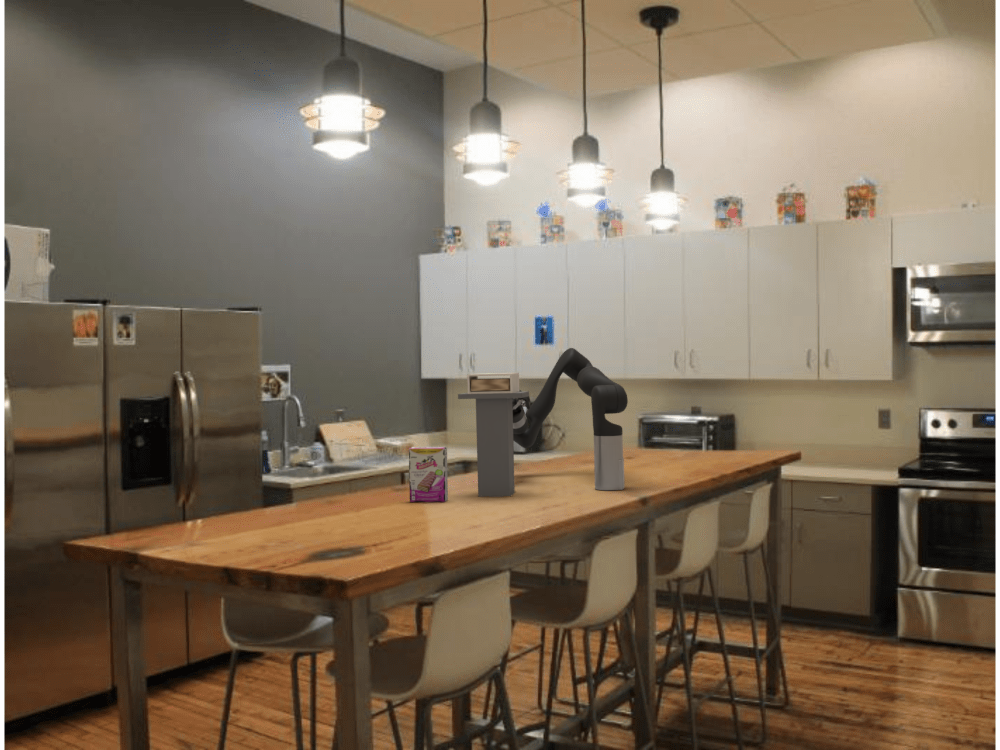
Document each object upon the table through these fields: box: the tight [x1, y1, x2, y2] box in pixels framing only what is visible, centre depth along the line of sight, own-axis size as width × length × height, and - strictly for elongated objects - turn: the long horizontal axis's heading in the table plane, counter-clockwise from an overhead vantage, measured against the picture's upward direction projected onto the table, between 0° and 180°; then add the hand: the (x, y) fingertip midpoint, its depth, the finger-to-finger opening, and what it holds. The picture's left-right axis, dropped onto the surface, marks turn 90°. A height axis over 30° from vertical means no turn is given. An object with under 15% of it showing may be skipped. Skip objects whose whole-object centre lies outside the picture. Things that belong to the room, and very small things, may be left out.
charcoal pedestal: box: [457, 390, 530, 498], centre depth 308 cm, size 20×13×32 cm, turn 79°
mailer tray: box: [471, 377, 510, 391], centre depth 313 cm, size 12×22×3 cm, turn 169°
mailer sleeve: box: [466, 372, 520, 394], centre depth 308 cm, size 14×12×6 cm
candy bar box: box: [408, 446, 449, 503], centre depth 298 cm, size 11×5×16 cm, turn 84°
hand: (505, 391), depth 326 cm, fingers open, 8 cm apart
